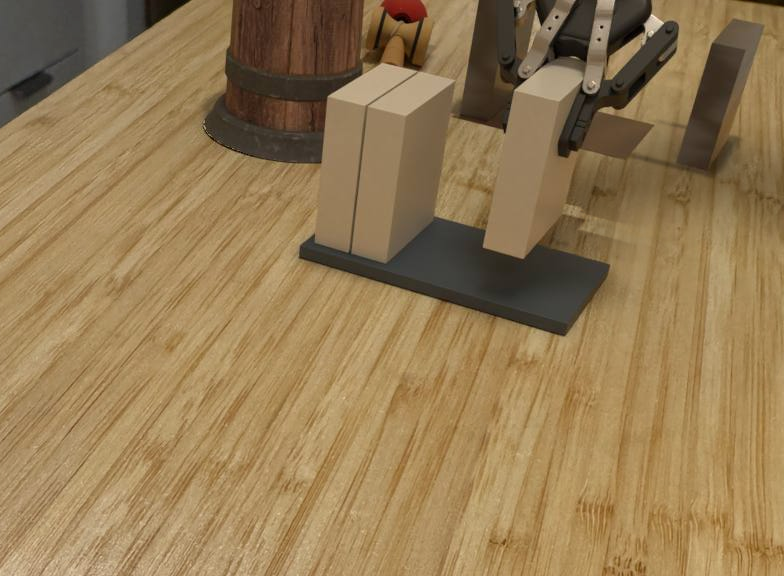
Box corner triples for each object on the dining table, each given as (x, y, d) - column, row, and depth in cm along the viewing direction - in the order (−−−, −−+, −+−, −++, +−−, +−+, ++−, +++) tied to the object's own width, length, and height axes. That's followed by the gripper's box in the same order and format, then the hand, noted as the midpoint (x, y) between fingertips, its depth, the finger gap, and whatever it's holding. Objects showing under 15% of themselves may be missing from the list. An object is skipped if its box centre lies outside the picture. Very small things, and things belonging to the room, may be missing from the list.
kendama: (428, 108, 122) (439, 35, 133) (426, 47, 117) (437, -23, 128) (357, 112, 123) (373, 40, 134) (351, 52, 118) (369, -18, 130)
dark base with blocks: (607, 275, 92) (650, 121, 84) (564, 336, 84) (607, 171, 76) (360, 207, 98) (378, 57, 90) (298, 257, 90) (311, 97, 82)
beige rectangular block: (563, 213, 90) (599, 63, 82) (523, 259, 83) (559, 101, 75) (524, 202, 90) (557, 53, 83) (482, 247, 84) (514, 90, 76)
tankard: (352, 175, 103) (380, -81, 89) (176, 142, 105) (178, -113, 92) (406, 98, 120) (436, -128, 106) (253, 70, 122) (264, -153, 109)
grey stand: (729, 153, 115) (772, 23, 107) (705, 190, 107) (749, 53, 99) (489, 95, 123) (512, -31, 114) (449, 126, 114) (471, -7, 106)
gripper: (721, -27, 82) (631, 195, 82) (536, -65, 86) (450, 148, 86) (732, -102, 75) (634, 142, 75) (529, -140, 79) (436, 92, 79)
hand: (536, 144), depth 81 cm, fingers closed on beige rectangular block, 3 cm apart
